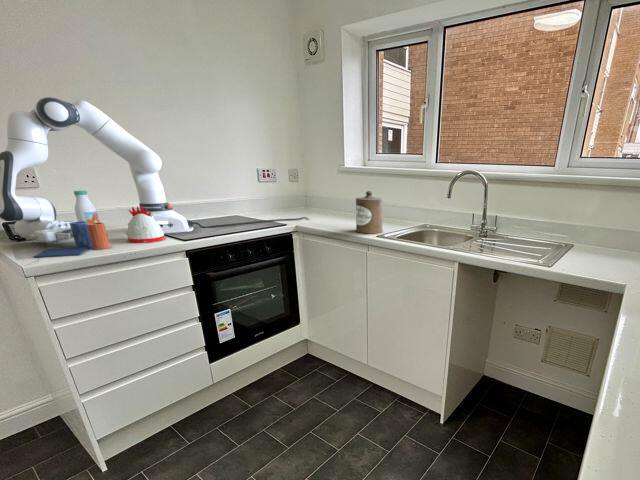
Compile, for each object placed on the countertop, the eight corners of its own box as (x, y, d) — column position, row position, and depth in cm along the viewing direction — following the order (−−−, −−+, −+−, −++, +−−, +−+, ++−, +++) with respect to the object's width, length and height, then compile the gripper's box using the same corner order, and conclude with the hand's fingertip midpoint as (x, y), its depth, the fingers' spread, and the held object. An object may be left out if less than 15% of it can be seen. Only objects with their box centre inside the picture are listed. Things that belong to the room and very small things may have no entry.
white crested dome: (133, 237, 165) (125, 204, 159) (167, 236, 170) (160, 204, 164) (124, 243, 153) (115, 208, 147) (161, 242, 158) (153, 208, 152)
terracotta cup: (112, 246, 148) (105, 222, 144) (108, 249, 143) (101, 224, 139) (95, 246, 146) (88, 222, 142) (91, 249, 141) (83, 224, 137)
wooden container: (351, 230, 200) (350, 190, 192) (371, 228, 209) (371, 189, 201) (366, 234, 190) (366, 192, 182) (387, 232, 199) (388, 191, 191)
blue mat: (90, 248, 143) (89, 246, 143) (79, 255, 133) (79, 253, 133) (48, 250, 138) (48, 249, 138) (34, 257, 128) (34, 256, 128)
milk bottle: (82, 236, 163) (68, 191, 155) (81, 233, 168) (68, 190, 161) (103, 234, 167) (91, 191, 160) (102, 232, 173) (90, 190, 166)
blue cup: (96, 244, 149) (89, 221, 145) (91, 247, 144) (84, 223, 141) (79, 245, 147) (72, 221, 143) (74, 248, 142) (66, 223, 138)
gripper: (23, 227, 135) (52, 230, 133) (77, 220, 154) (104, 222, 152) (28, 244, 137) (58, 246, 135) (81, 234, 156) (108, 236, 154)
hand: (82, 233), depth 143 cm, fingers open, 8 cm apart
